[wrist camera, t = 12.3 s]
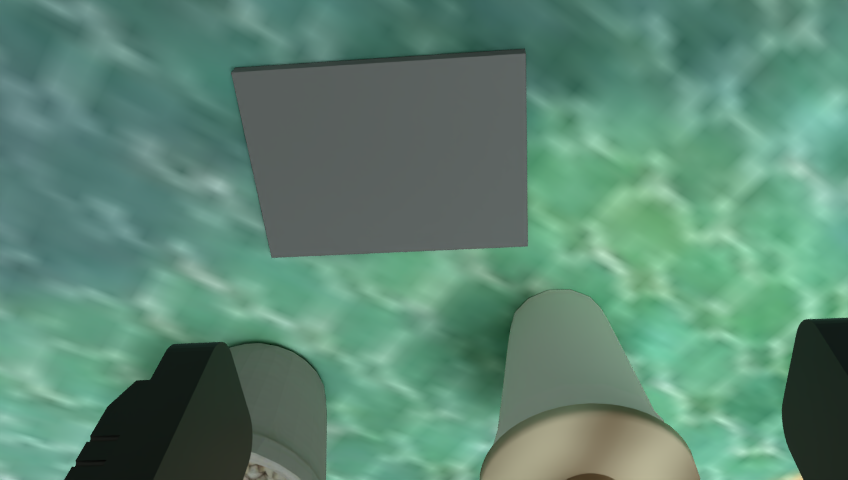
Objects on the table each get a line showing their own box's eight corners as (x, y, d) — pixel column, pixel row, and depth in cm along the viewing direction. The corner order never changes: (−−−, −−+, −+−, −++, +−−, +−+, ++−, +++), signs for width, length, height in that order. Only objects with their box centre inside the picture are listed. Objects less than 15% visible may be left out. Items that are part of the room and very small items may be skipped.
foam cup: (550, 243, 46) (578, 386, 35) (659, 315, 49) (717, 470, 38) (459, 339, 51) (458, 494, 39) (564, 401, 53) (591, 563, 42)
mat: (524, 48, 40) (525, 53, 39) (526, 239, 46) (527, 246, 46) (235, 67, 41) (231, 72, 41) (274, 250, 47) (271, 257, 47)
